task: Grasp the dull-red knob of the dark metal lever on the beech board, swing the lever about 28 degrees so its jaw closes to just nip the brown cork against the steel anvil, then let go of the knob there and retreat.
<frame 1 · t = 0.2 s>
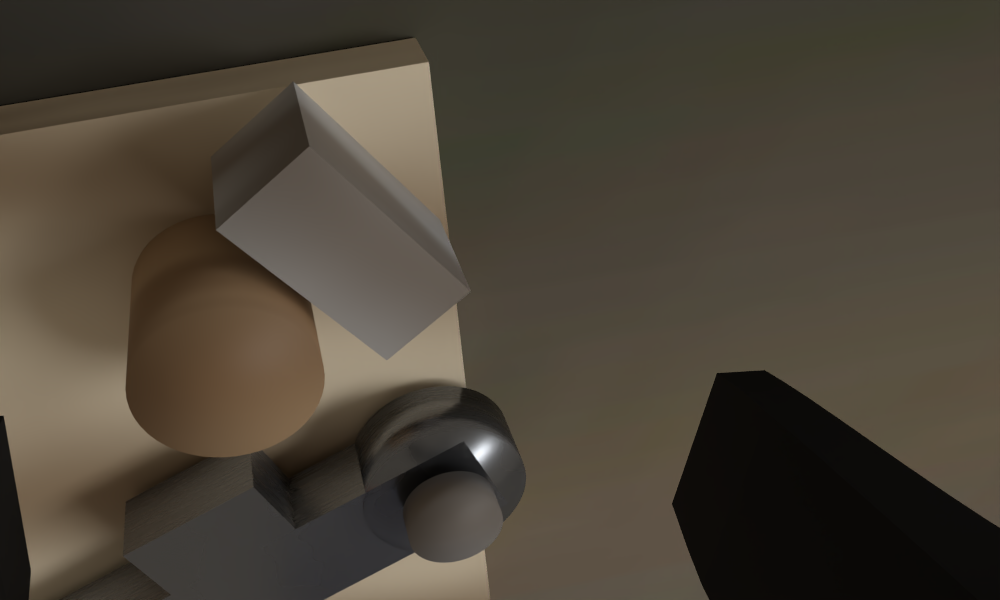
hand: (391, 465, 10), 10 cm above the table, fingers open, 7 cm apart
cork: (220, 286, 18), point 1 cm above the table, touching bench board
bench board: (162, 464, 22), on the table
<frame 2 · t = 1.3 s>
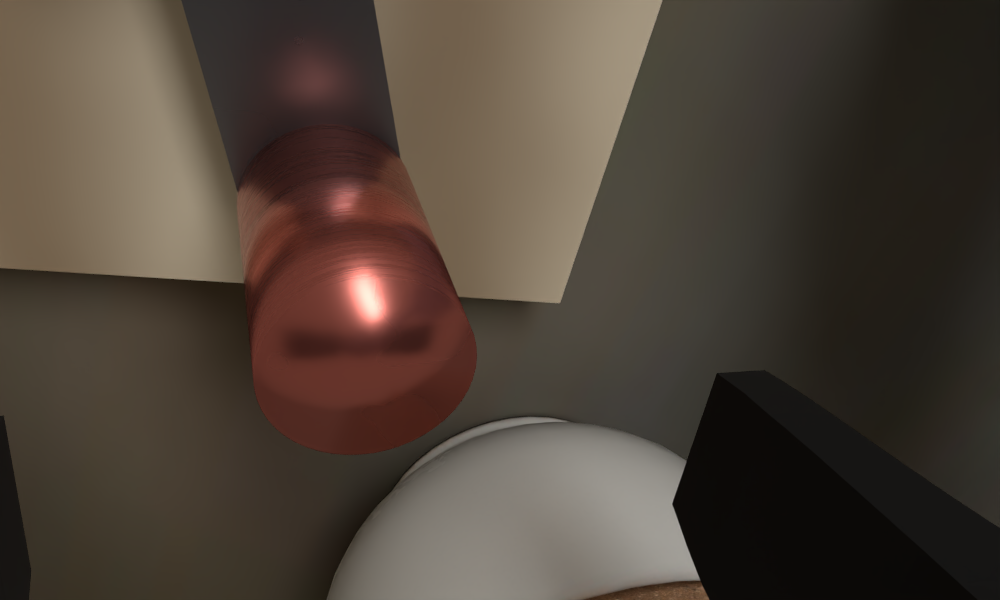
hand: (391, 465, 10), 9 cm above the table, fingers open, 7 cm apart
lidded jar: (500, 502, 24), on the table
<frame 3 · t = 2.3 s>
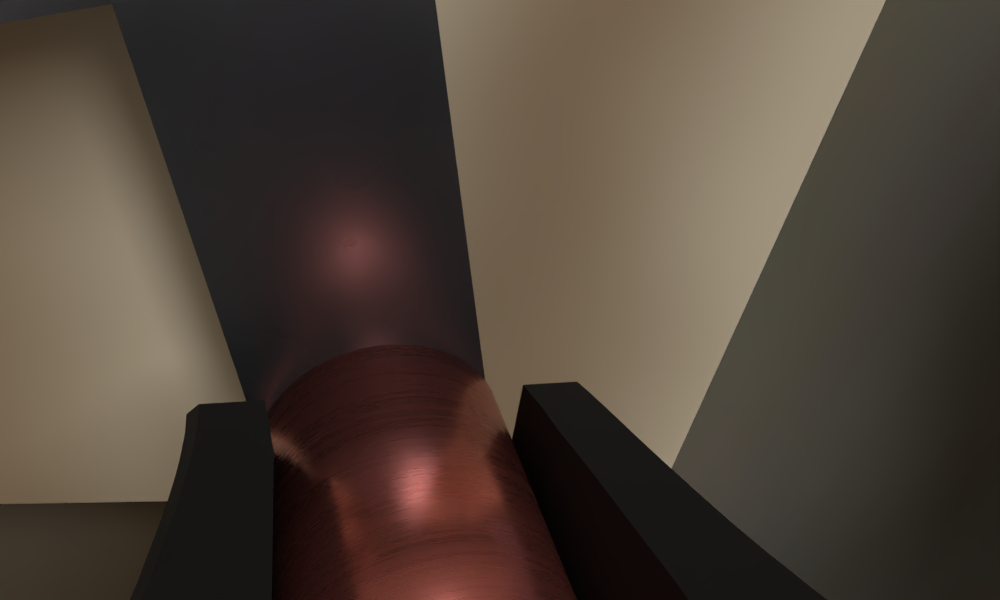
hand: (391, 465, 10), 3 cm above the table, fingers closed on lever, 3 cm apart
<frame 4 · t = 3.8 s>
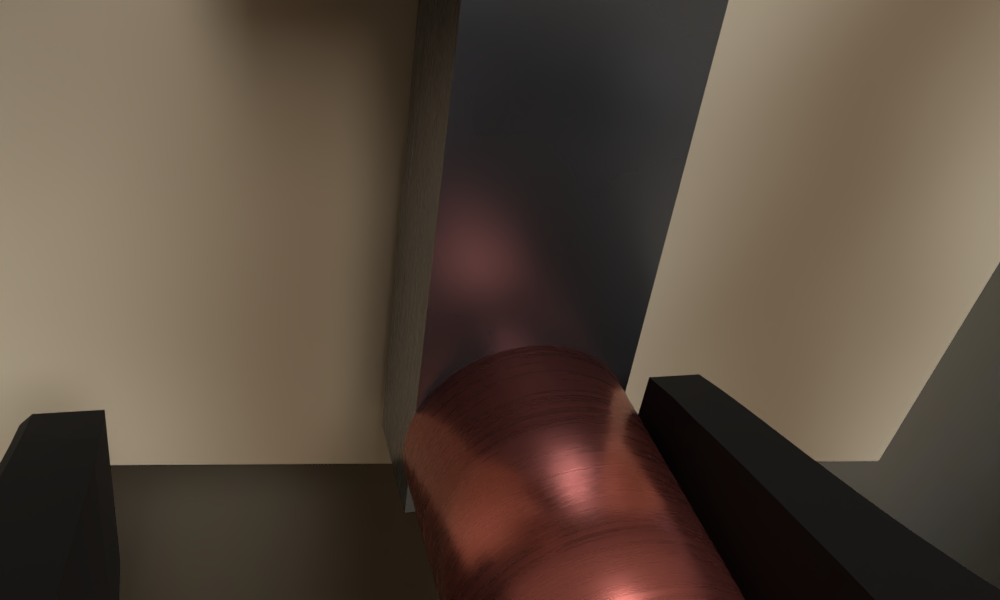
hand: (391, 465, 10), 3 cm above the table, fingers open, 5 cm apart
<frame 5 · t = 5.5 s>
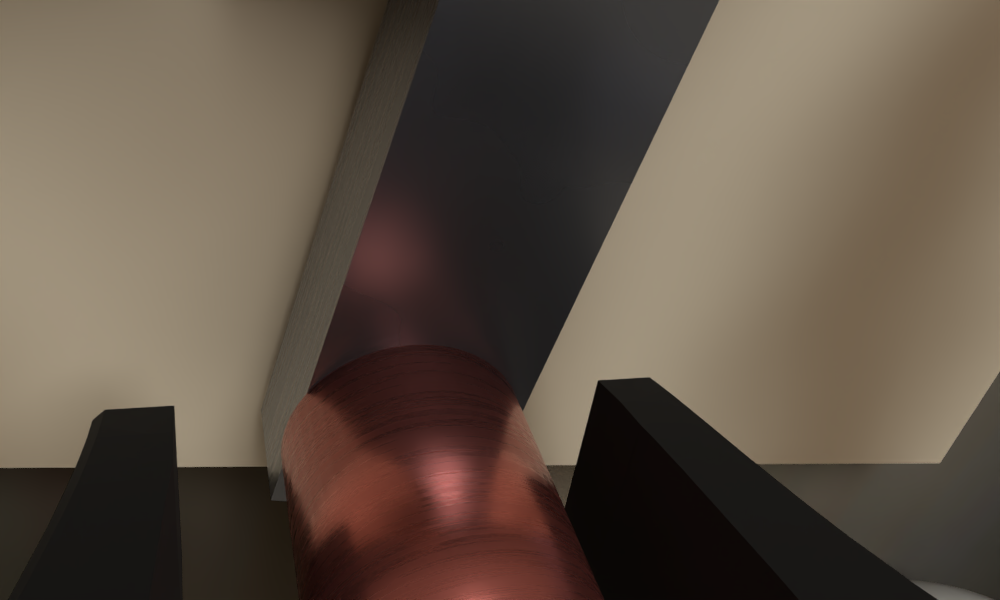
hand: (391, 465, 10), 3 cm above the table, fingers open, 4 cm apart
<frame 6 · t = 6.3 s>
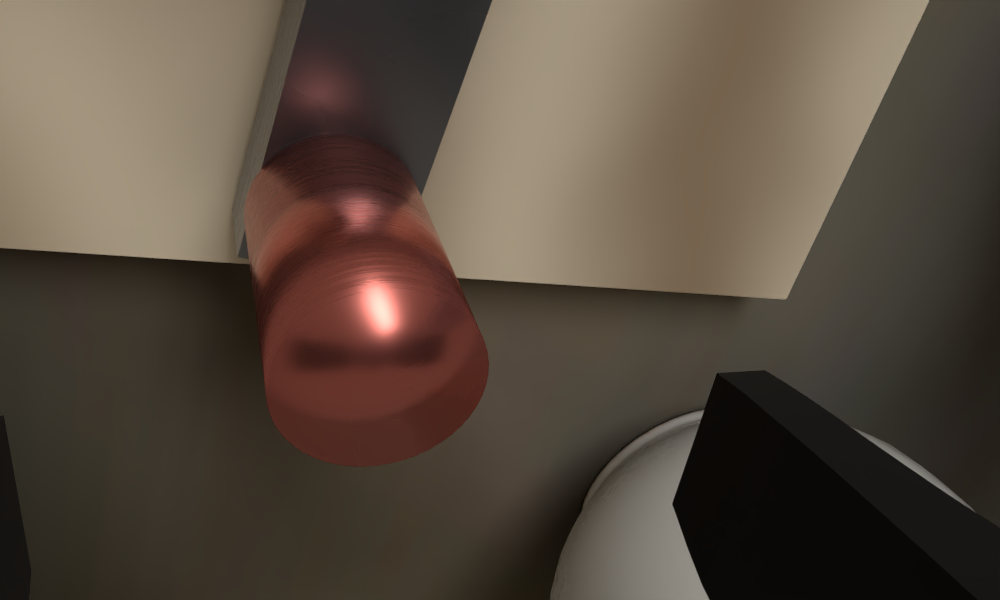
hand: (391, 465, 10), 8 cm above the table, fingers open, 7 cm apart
lidded jar: (685, 488, 26), on the table
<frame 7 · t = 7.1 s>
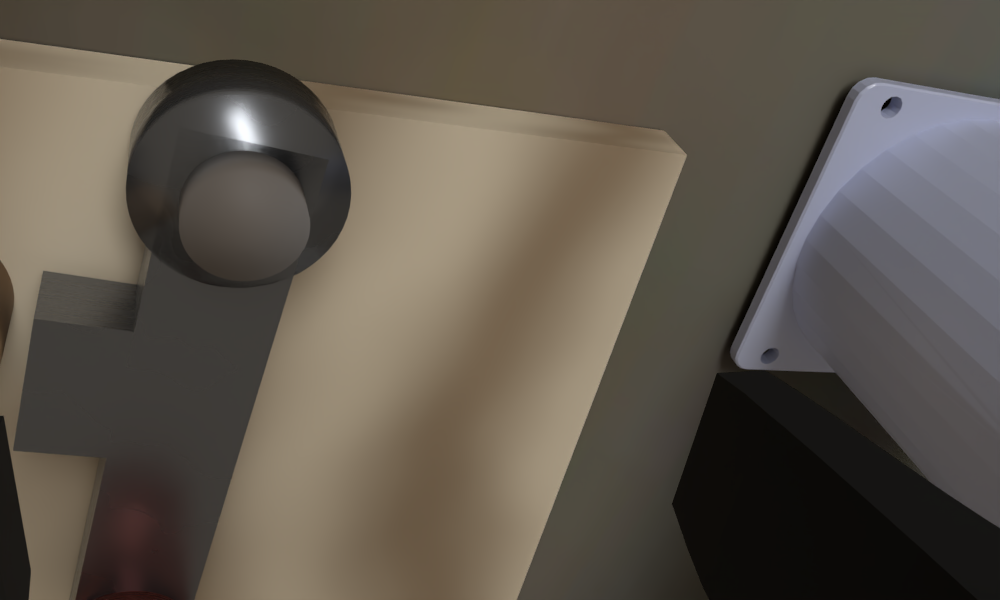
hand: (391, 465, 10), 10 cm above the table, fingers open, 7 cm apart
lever: (151, 478, 17), point 4 cm above the table, hinge at 26.6°
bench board: (205, 370, 21), on the table
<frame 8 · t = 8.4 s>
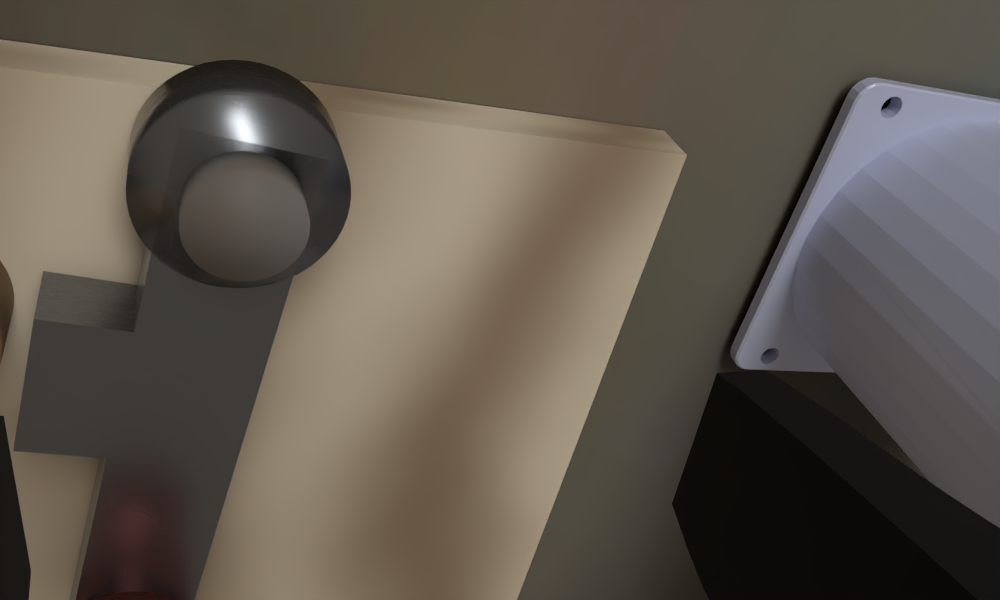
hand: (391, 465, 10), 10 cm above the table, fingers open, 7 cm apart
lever: (151, 479, 17), point 4 cm above the table, hinge at 26.6°
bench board: (205, 370, 21), on the table
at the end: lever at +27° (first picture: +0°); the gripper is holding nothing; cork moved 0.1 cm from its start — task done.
